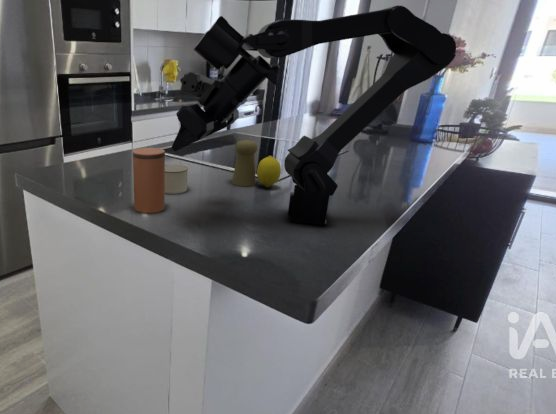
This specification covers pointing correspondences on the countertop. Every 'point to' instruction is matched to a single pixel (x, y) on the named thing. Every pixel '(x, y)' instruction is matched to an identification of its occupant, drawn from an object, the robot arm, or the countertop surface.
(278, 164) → the lemon
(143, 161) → the terracotta tall cylinder
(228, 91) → the robot arm
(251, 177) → the cork
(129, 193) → the countertop surface
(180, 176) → the short cream cylinder
